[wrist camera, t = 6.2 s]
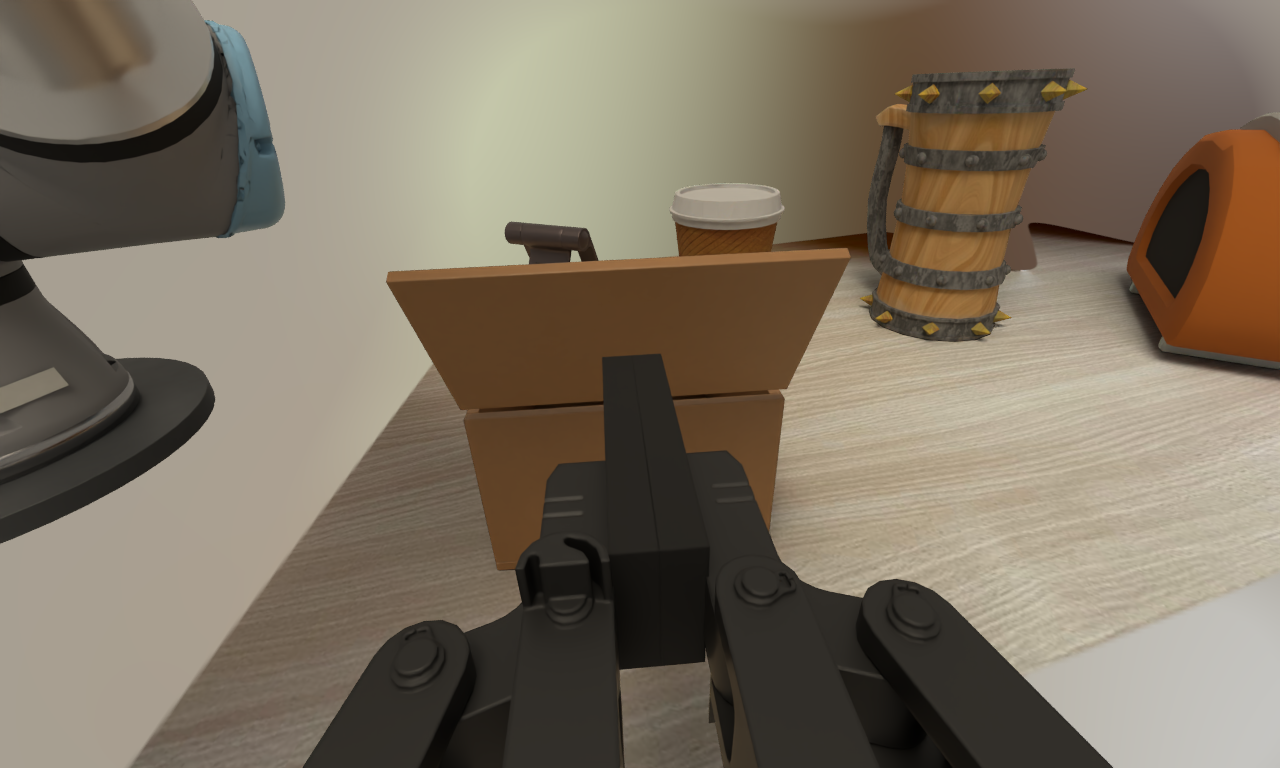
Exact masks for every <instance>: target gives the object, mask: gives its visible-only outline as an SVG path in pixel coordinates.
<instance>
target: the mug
mask: <svg viewBox="0 0 1280 768" xmlns="http://www.w3.org/2000/svg"><path fill="white" fill-rule="evenodd" d="M1074 71H1075V69H1043V70H1015V71H990V72H989V71H988V72H964V73H963V72H962V73H938V74H917V75H913V76H912V81H911V82H913V85H911V86H909V87H907V88H905V89H903V90H901V91H899V92H897V93H895V94H896V95H898V96H899V97H901V98H903V99H905V100H907V101H908V102H910V104H907V105H902V104H896V105H893V106H890V107H888V108H886V109H885V110H884V111H882V112H881V113H880V114H879V115H877V116H876V119H877V121H878V124H879V126H884V130H883V136H882V142H881V147H880V151H879V155H878V159H877V163H876V166H875V170H874V174H873V178H872V183H871V188H870V194H869V198H868V217H867V231H868V232H867V233H868V249H869V256H870V260H871V262H872V265H873V267H874V268H875V269H876V270H877V271H878V272H879V273H880V274H881V275H882V276H881V279H880V282H879V286H878V287H877V288H876V289H875V290H874V291H873V293H872V295H869V296H865V297H862V298H860V299H862V300H863V301H865V302H866V303H868V304H869V305H871V307H870V309H869V312H870V315H871V318H872V319H873V320H874V321H876V322H877V323H879V324H880V325H881V326H883V327H885V328H888V329H890V330H893V331H896V332H898V333H901V334H904V335H909V336H914V337H919V338H923V339H928V340H943V341H963V340H974V339H978V338H981V337H983V336H986V335H988V334H991V331H992V329H993V327H994V324H995V323H994V322H997V321H1001V320H1005V319H1009V318H1011V317H1009V316H1008V315H1006V314H1004V313H1003V312H1001V311H999V308H1000V305H999V304H998V303H997V302H996V301H997V295H998V289H999V285H1000V284H1002V283H1003V281H1004V279H1005V275H1007V274H1009V273H1010V271H1011V267H1010V266H1008V265H1006V262H1005V260H1004V255H1005V251H1006V247H1007V243H1008V239H1009V234H1010V231H1011V228H1014V227H1015V225H1018V224H1020V223H1021V222H1022V221H1023V216H1022V215H1021V214H1020V211H1021V208H1022V207H1020V206H1019V205H1018V203H1019V200H1020V198H1021V195H1022V192H1023V189H1024V186H1025V183H1026V181H1027V178H1028V175H1029V172H1030V170H1031V168H1033V167H1034V166H1035V165H1036V163H1037V161H1041V160H1043V159H1045V157H1046V155H1047V152H1046V150H1044V148H1045V145H1042V144H1041V143H1042V141H1043V139H1044V136H1045V134H1046V132H1047V129H1048V127H1049V124H1050V122H1051V120H1052V117H1053V115H1054V112H1055V111H1059V110H1062V109H1063V106H1064V101H1062V100H1063V99H1066V98H1068V97H1070V96H1073V95H1075V94H1078V93H1080V92H1082V91H1085V90H1087V88H1085V87H1083V86H1081V85H1079V84H1077V83H1075V82H1073V81H1071V80H1069V78H1070V77H1073V74H1074ZM903 129H907V130H910V133H909V143H906V144H904V148H902V149H901V150H900V152H899V149H900V144H901V140H902V134H903ZM898 153H899V155H900V157H901V158H904V162H905V163H907V166H906V173H905V180H904V186H903V194H902V199H900V200H899V201H897V204H896V209H895V211H894V216H895V218H896V219H897V224H896V228H895V232H894V236H893V240H892V244H891V248H890V250H888V247H887V239H886V206H887V196H888V192H889V187H890V182H891V177H892V174H893V170H894V167H895V164H896V161H897V157H898Z"/></svg>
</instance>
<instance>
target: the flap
mask: <svg viewBox="0 0 1280 768" xmlns="http://www.w3.org/2000/svg"><path fill="white" fill-rule="evenodd" d="M850 258H851V257H850V254H849V252H848V249H847V248H839V249H819V250H800V251H780V252H761V253H742V254H722V255H703V256H683V257H664V258H645V259H625V260H605V261H586V262H566V263H547V264H528V265H508V266H489V267H469V268H450V269H430V270H411V271H392V272H388V275H387V281H386V282H387V284H388V286H389V288H390V289H391V291H392V293H393V295H394V296H395V298H396V300H397V302H398V303H399V305H400V307H401V308H402V310H403V312H404V314H405V315H406V317H407V319H408V320H409V322H410V324H411V326H412V327H413V329H414V331H415V332H416V334H417V336H418V338H419V339H420V341H421V343H422V344H423V346H424V348H425V350H426V351H427V353H428V355H429V357H430V358H431V360H432V362H433V363H434V365H435V367H436V369H437V370H438V372H439V374H440V375H441V377H442V379H443V381H444V382H445V384H446V386H447V387H448V389H449V391H450V393H451V394H452V396H453V398H454V399H455V401H456V403H457V405H458V406H459V408H460V410H470V409H485V408H501V407H516V406H531V405H547V404H562V403H577V402H593V401H603V373H602V357H612V356H628V355H644V354H661V356H662V360H663V363H664V367H665V371H666V375H667V379H668V383H669V387H670V391H671V395H672V396H685V395H700V394H716V393H731V392H746V391H762V390H777V389H787V387H788V385H789V383H790V381H791V379H792V377H793V375H794V373H795V371H796V369H797V367H798V365H799V363H800V361H801V359H802V357H803V355H804V353H805V351H806V348H807V346H808V344H809V342H810V340H811V338H812V336H813V334H814V332H815V330H816V328H817V326H818V324H819V322H820V320H821V318H822V316H823V314H824V312H825V309H826V307H827V305H828V303H829V301H830V299H831V297H832V295H833V293H834V291H835V289H836V287H837V285H838V283H839V281H840V279H841V277H842V275H843V273H844V271H845V268H846V266H847V264H848V262H849V260H850Z"/></svg>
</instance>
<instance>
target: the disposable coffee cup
mask: <svg viewBox="0 0 1280 768" xmlns="http://www.w3.org/2000/svg"><path fill="white" fill-rule="evenodd" d="M783 212H784V206H783V205H782V204H781V197H780V192H779V190H777V189H775V188H772V187H768V186H763V185H754V184H737V183H734V184H733V183H721V184H706V185H705V184H704V185H696V186H691V187H685V188H682V189H679V190H677V191H676V193H675V196H674V201H673V205H672V206H671V207H670V213H671V214H672V218H673V220H674V221H675V225H676V232H677V241H678V250H679V257H683V256H703V255H722V254H742V253H761V252H771V249H772V244H773V239H774V234H775V231H776V225H777V222H778V221H779V220H780V217H781V214H782V213H783Z"/></svg>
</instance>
